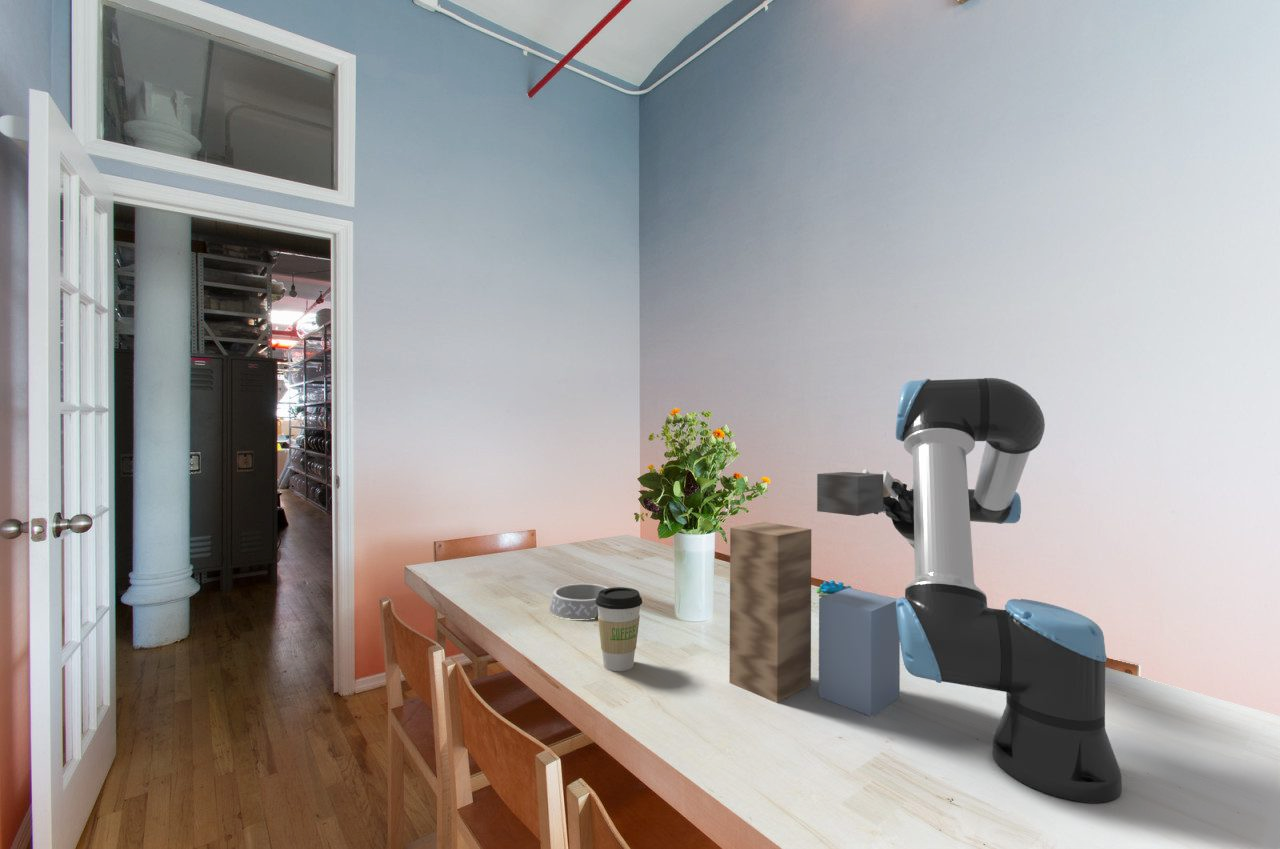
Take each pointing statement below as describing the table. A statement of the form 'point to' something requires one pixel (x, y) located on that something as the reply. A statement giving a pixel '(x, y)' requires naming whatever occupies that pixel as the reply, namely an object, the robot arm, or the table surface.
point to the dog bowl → (576, 601)
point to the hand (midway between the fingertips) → (873, 476)
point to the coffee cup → (618, 626)
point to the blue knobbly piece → (830, 588)
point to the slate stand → (859, 650)
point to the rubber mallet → (851, 493)
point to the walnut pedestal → (770, 609)
